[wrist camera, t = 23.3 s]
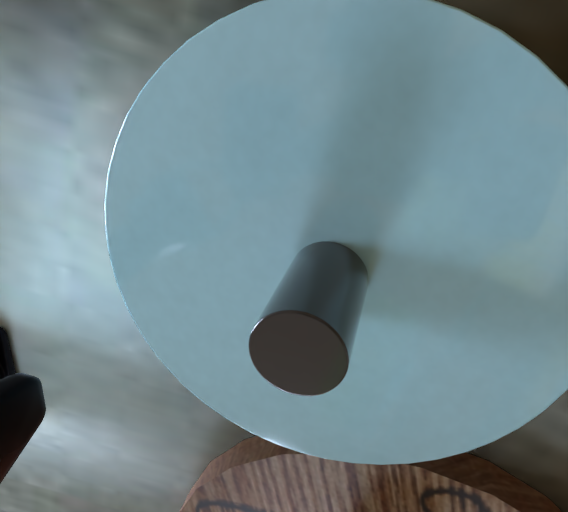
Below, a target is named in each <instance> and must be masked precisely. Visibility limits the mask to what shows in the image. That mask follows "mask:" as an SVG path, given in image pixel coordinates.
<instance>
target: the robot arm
mask: <svg viewBox="0 0 568 512" xmlns="http://www.w3.org/2000/svg"><path fill="white" fill-rule="evenodd" d="M45 412H46V406H45V400H44V395H43V389H42V384H41V381H40V380H39V378H37V377H34V376H31V375H28V374H24V373H16V374H15V370H14V366H13V361H12V356H11V351H10V346H9V342H8V337H7V333H6V331H5V330H4V329H3V328H2V327H0V483H1V482H2V480H3V479H4V477H5V476H6V474H7V473H8V471H9V470H10V468H11V467H12V465H13V464H14V462H15V461H16V460H17V458H18V457H19V455H20V454H21V452H22V451H23V449H24V448H25V446H26V445H27V443H28V442H29V440H30V439H31V437H32V436H33V434H34V433H35V431H36V430H37V428H38V427H39V425H40V424H41V422H42V420H43V418H44V416H45Z"/></svg>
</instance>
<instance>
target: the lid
mask: <svg viewBox="0 0 568 512" xmlns="http://www.w3.org/2000/svg"><path fill="white" fill-rule="evenodd" d="M105 229H106V236H107V243H108V250H109V256H110V260H111V264H112V267H113V271H114V275H115V279H116V282H117V284H118V287H119V289H120V292H121V294H122V297H123V300H124V302H125V305H126V307H127V309H128V311H129V312H130V314H131V316H132V318H133V320H134V322H135V324H136V326H137V328H138V329H139V331H140V332H141V334H142V335H143V337H144V338H145V340H146V341H147V343H148V344H149V346H150V348H151V349H152V350H153V352H154V353H155V354H156V355H157V357H158V358H159V359H160V360H161V361H162V363H163V364H164V365H165V366H166V368H167V369H168V370H169V371H170V372H171V373H172V374H173V375H174V376H175V377H176V378H177V379H178V380H179V381H180V382H181V383H182V384H183V385H184V386H185V387H186V388H187V389H188V390H189V391H190V392H191V393H193V394H194V395H195V396H196V397H197V398H199V399H200V400H201V401H202V402H203V403H205V404H206V405H207V406H208V407H210V408H211V409H213V410H214V411H216V412H217V413H219V414H220V415H222V416H223V417H224V418H226V419H227V420H229V421H231V422H232V423H234V424H236V425H238V426H239V427H241V428H243V429H245V430H247V431H248V432H250V433H252V434H254V435H256V436H259V437H261V438H263V439H265V440H268V441H270V442H272V443H274V444H277V445H280V446H282V447H285V448H288V449H291V450H294V451H297V452H300V453H304V454H308V455H312V456H316V457H320V458H324V459H328V460H335V461H342V462H348V463H357V464H375V465H390V464H410V463H417V462H424V461H431V460H438V459H442V458H446V457H449V456H453V455H457V454H461V453H465V452H468V451H470V450H473V449H476V448H478V447H481V446H484V445H486V444H489V443H491V442H494V441H496V440H498V439H500V438H501V437H503V436H505V435H507V434H509V433H511V432H513V431H515V430H517V429H519V428H520V427H522V426H523V425H525V424H526V423H528V422H529V421H530V420H532V419H533V418H535V417H536V416H538V415H539V414H540V413H542V412H543V411H545V410H546V409H547V408H548V407H549V406H550V405H551V404H552V403H554V402H555V401H556V400H557V399H558V398H559V397H560V396H561V395H562V394H563V393H564V392H566V391H567V390H568V86H567V85H566V84H565V83H564V82H563V81H562V80H561V79H560V78H559V77H558V76H557V75H556V74H555V73H554V72H553V71H552V70H551V69H550V68H549V67H548V66H547V65H546V64H545V63H544V62H543V61H542V60H541V59H540V58H539V57H538V56H537V55H536V54H534V53H533V52H531V51H530V50H529V49H527V48H526V47H525V46H523V45H522V44H520V43H519V42H518V41H516V40H515V39H514V38H512V37H511V36H509V35H508V34H507V33H505V32H504V31H503V30H501V29H499V28H497V27H495V26H493V25H491V24H489V23H487V22H486V21H484V20H482V19H480V18H478V17H476V16H474V15H472V14H470V13H468V12H466V11H464V10H462V9H459V8H456V7H453V6H450V5H447V4H444V3H441V2H438V1H435V0H263V1H260V2H256V3H253V4H251V5H249V6H246V7H244V8H242V9H240V10H238V11H236V12H234V13H231V14H229V15H227V16H225V17H223V18H221V19H219V20H217V21H216V22H214V23H213V24H211V25H210V26H208V27H207V28H205V29H204V30H202V31H201V32H199V33H198V34H196V35H195V36H193V37H192V38H190V39H189V40H188V41H186V42H185V43H184V44H183V45H182V46H181V47H180V48H179V49H178V50H177V51H175V52H174V53H173V54H172V55H171V56H170V57H169V58H168V59H167V60H166V61H164V62H163V64H162V65H161V66H160V67H159V69H158V70H157V71H156V72H155V73H154V75H153V76H152V77H151V78H150V80H149V81H148V82H147V83H146V85H145V86H144V87H143V88H142V90H141V92H140V93H139V95H138V97H137V99H136V100H135V102H134V104H133V105H132V107H131V109H130V110H129V112H128V114H127V116H126V118H125V120H124V123H123V125H122V128H121V130H120V133H119V135H118V138H117V140H116V143H115V146H114V150H113V154H112V158H111V162H110V166H109V170H108V176H107V185H106V194H105Z"/></svg>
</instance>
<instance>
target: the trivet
mask: <svg viewBox="0 0 568 512" xmlns="http://www.w3.org/2000/svg"><path fill="white" fill-rule="evenodd" d="M180 512H562V511H561V510H560V509H559V508H558V507H557V506H556V505H555V504H554V503H553V502H552V501H551V500H550V499H549V498H548V497H546V496H544V495H543V494H541V493H540V492H538V491H536V490H535V489H533V488H531V487H530V486H528V485H527V484H525V483H523V482H522V481H520V480H518V479H517V478H515V477H514V476H512V475H510V474H509V473H507V472H505V471H504V470H502V469H501V468H499V467H497V466H496V465H494V464H492V463H491V462H489V461H487V460H484V459H482V458H479V457H476V456H474V455H471V454H468V453H466V452H465V453H461V454H457V455H453V456H449V457H446V458H442V459H438V460H431V461H424V462H417V463H410V464H390V465H375V464H357V463H348V462H342V461H335V460H328V459H324V458H320V457H316V456H312V455H308V454H304V453H300V452H297V451H294V450H291V449H288V448H285V447H282V446H280V445H277V444H274V443H272V442H270V441H268V440H265V439H263V438H261V437H259V436H255V437H252V438H248V439H245V440H243V441H241V442H240V443H238V444H237V445H235V446H234V447H232V448H231V449H229V450H228V451H226V452H225V453H223V454H221V455H220V456H218V457H217V458H215V459H214V460H212V461H211V462H210V463H209V464H208V466H207V467H206V469H205V470H204V472H203V473H202V474H201V476H200V477H199V479H198V480H197V482H196V483H195V484H194V486H193V487H192V489H191V490H190V492H189V494H188V496H187V498H186V500H185V502H184V504H183V506H182V508H181V510H180Z"/></svg>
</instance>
